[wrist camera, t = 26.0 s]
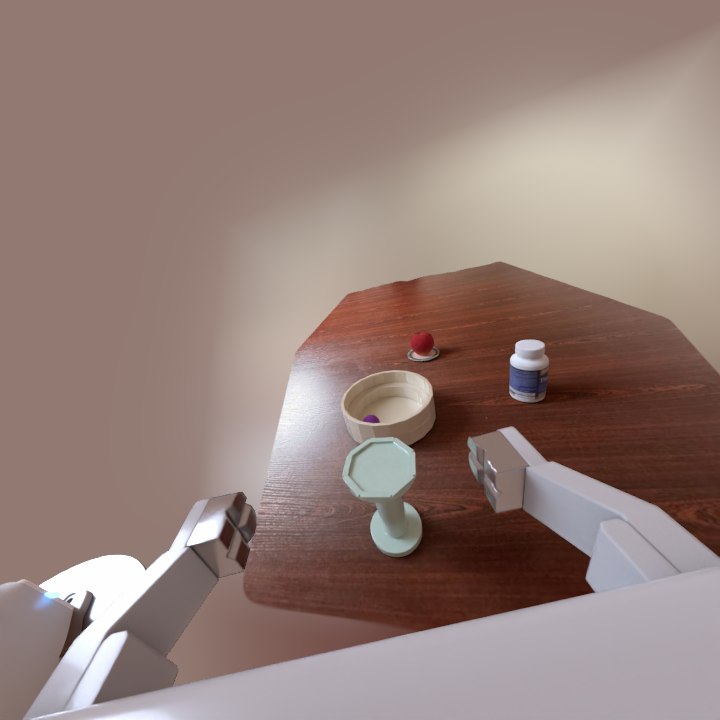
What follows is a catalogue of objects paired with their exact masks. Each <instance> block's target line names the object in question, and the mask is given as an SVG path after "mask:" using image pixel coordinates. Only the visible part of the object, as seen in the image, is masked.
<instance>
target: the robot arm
mask: <svg viewBox="0 0 720 720" xmlns="http://www.w3.org/2000/svg"><path fill="white" fill-rule="evenodd" d="M468 446H469V448H470V450H471V452H470V453H469V463H470V466H471V470H472V472H473V474H474V476H475V478H476V480H477V482H478V483H480V484H481V485H483V486H485V495H486V497H487V499H488V500H489V502H490V504H491V505H492V507H493V509H494V510H495V512H496V513H499V512H504V511H509V510H514V509H519V508H523V510H525V511H526V512H528V513H529V514H530V515H532V516H533V517H535V518H536V519H538V520H539V521H540V522H542V523H543V524H545V525H546V526H547V527H549V528H550V529H552V530H553V531H554V532H556V533H557V534H559V535H560V536H561V537H563V538H564V539H566V540H567V541H569V542H570V543H571V544H573V545H574V546H576V547H577V548H578V549H580V550H581V551H583V552H584V553H585V554H587V555H588V556H590V557H591V559H590V563H589V566H588V570H587V574H586V580H587V582H588V583H589V585H590V586H591V587H592V589H593V590H594V591H595V593H591V594H586V595H582V596H578V597H573V598H569V599H564V600H560V601H555V602H551V603H546V604H542V605H537V606H533V607H528V608H524V609H519V610H515V611H510V612H506V613H501V614H497V615H492V616H488V617H483V618H479V619H474V620H470V621H465V622H461V623H456V624H452V625H447V626H443V627H438V628H434V629H429V630H425V631H420V632H416V633H412V634H407V635H402V636H398V637H394V638H389V639H385V640H381V641H376V642H371V643H367V644H362V645H358V646H353V647H349V648H344V649H340V650H335V651H331V652H326V653H322V654H317V655H313V656H308V657H304V658H300V659H295V660H290V661H286V662H281V663H277V664H273V665H268V666H264V667H259V668H254V669H250V670H246V671H241V672H237V673H232V674H228V675H223V676H219V677H214V678H210V679H205V680H201V681H196V682H192V683H187V684H183V685H179V686H174V687H173V684H174V681H175V679H176V676H177V673H178V668H177V665H175V664H174V663H173V662H171V661H170V660H168V659H167V658H166V656H167V655H168V653H169V652H170V650H171V649H172V647H173V646H174V644H175V643H176V642H177V640H178V638H179V637H180V636H181V634H182V633H183V631H184V630H185V628H186V627H187V626H188V624H189V623H190V621H191V620H192V618H193V617H194V615H195V614H196V612H197V611H198V610H199V608H200V607H201V605H202V604H203V602H204V601H205V599H206V598H207V596H208V595H209V593H210V592H211V591H212V589H213V588H214V586H215V585H216V583H217V582H218V580H219V579H218V578H221V577H225V576H229V575H233V574H236V573H240V572H244V569H245V566H246V562H247V559H248V555H249V551H250V547H249V545H248V542H249V541H250V540H251V538H252V537H253V536H254V533H255V529H256V514H255V510H254V509H253V507H252V506H251V505H249V504H246V503H245V502H246V499H247V498H246V496H245V495H244V493H243V492H238V493H233V494H228V495H223V496H218V497H213V498H210V499H205V500H201V501H198V502H197V503H196V504H194V506H193V507H192V510H191V511H190V513H189V515H188V517H187V519H186V520H185V522H184V524H183V526H182V528H181V530H180V532H179V533H178V535H177V537H176V539H175V541H174V543H173V544H172V546H171V548H170V550H169V551H168V552H164V553H163V554H162V555H161V556H160V557H159V558H158V559H157V560H156V561H155V562H154V563H153V564H152V565H151V566H150V567H149V568H148V569H147V570H146V571H145V572H144V573H143V574H142V575H141V576H140V577H139V578H138V579H137V580H136V581H134V582H133V583H132V584H131V585H130V586H129V587H128V588H127V589H126V590H125V591H124V592H123V593H122V594H121V595H120V596H119V597H118V598H117V599H116V600H115V601H114V602H113V603H112V604H111V605H110V606H109V607H108V608H107V609H106V610H105V611H104V612H103V613H102V614H101V615H100V616H99V617H98V618H97V619H96V620H95V621H94V622H93V623H91V624H90V625H89V626H88V627H87V628H86V629H85V630H84V631H83V632H82V625H83V618H84V615H85V613H86V611H87V609H88V607H89V605H90V602H91V600H92V597H93V592H91V591H89V590H87V589H82V590H75V591H69V592H63V593H58V592H56V591H53V592H48V591H46V590H44V589H43V588H41V587H39V586H37V585H35V584H34V583H32V582H30V581H28V580H24V579H23V580H20V581H19V582H9V583H5V584H2V585H0V720H720V558H719V557H718V556H717V555H716V554H715V553H713V552H712V551H711V550H710V549H709V548H707V547H706V546H705V545H704V544H703V543H701V542H700V541H699V540H698V539H697V538H695V537H694V536H693V535H692V534H690V533H689V532H688V531H687V530H686V529H684V528H683V527H682V526H681V525H680V524H678V523H677V522H676V521H675V520H674V519H672V518H671V517H670V516H669V515H668V514H666V513H665V512H664V511H663V510H662V509H660V508H659V507H657V506H655V505H652V504H650V503H648V502H646V501H643V500H641V499H639V498H636V497H634V496H632V495H629V494H627V493H625V492H622V491H620V490H618V489H616V488H613V487H611V486H609V485H606V484H604V483H602V482H599V481H597V480H595V479H592V478H590V477H588V476H586V475H583V474H581V473H579V472H576V471H574V470H572V469H569V468H567V467H565V466H562V465H560V464H558V463H556V462H553V461H552V462H547V461H546V460H545V459H544V457H543V456H542V455H541V454H540V453H539V452H538V451H537V450H536V449H535V448H534V447H533V446H532V445H531V444H530V443H529V442H528V441H527V440H526V439H525V438H524V437H523V436H522V435H521V434H520V433H519V432H518V431H517V430H516V429H515V428H514V427H512V426H511V427H507V428H503V429H499V430H497V431H496V430H495V431H491V432H487V433H483V434H479V435H475V436H471V437H468Z"/></svg>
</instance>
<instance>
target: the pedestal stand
mask: <svg viewBox="0 0 720 720" xmlns="http://www.w3.org/2000/svg"><path fill="white" fill-rule="evenodd" d="M416 470H417V468H416V456H415V452H414V450H413V449H412V448H410V447H409V446H407V445H406V444H404V443H403V442H402V441H400V440H399V439H397V438H395V439H394V437H386V438H370V440H369V439H368V440H366V441H365V442H363V443H362V444H361V445H359V446H358V447H356V448H355V449H353V450H352V451H351V452H349V454H348V455H347V459H346V462H345V466H344V470H343V474H342V477H343V480H344V482H345V483H346V484H347V485H348V487H349V489H350V491H351V492H352V493H353V494H354V495H355V496H356V497H357V498H359V499H361V500H363V501H365V502H369V503H375V504H376V507H377V511H376V512H375V514H374V515H373V517H372V521H371V535H372V538H373V541H374V543H375V545H376V546H377V548H378V549H379V550H380V551H381V552H383V553H384V554H386V555H388V556H391V557H403V556H406V555H408V554H410V553H411V552H413V551H414V550H415V549H416V548H417V546H418V545H419V543H420V541H421V538H422V533H423V529H422V522H421V519H420V516H419V514H418V512H417V511H416V510H415V509H414V508H413V507H412V506H411V505H409V504H407V503H405V502H403V498H402V495H403V494H404V493H406V492H407V491H408V490H409V488H410V487H411V486H412V484H413V482H414V480H415V477H416Z"/></svg>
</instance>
